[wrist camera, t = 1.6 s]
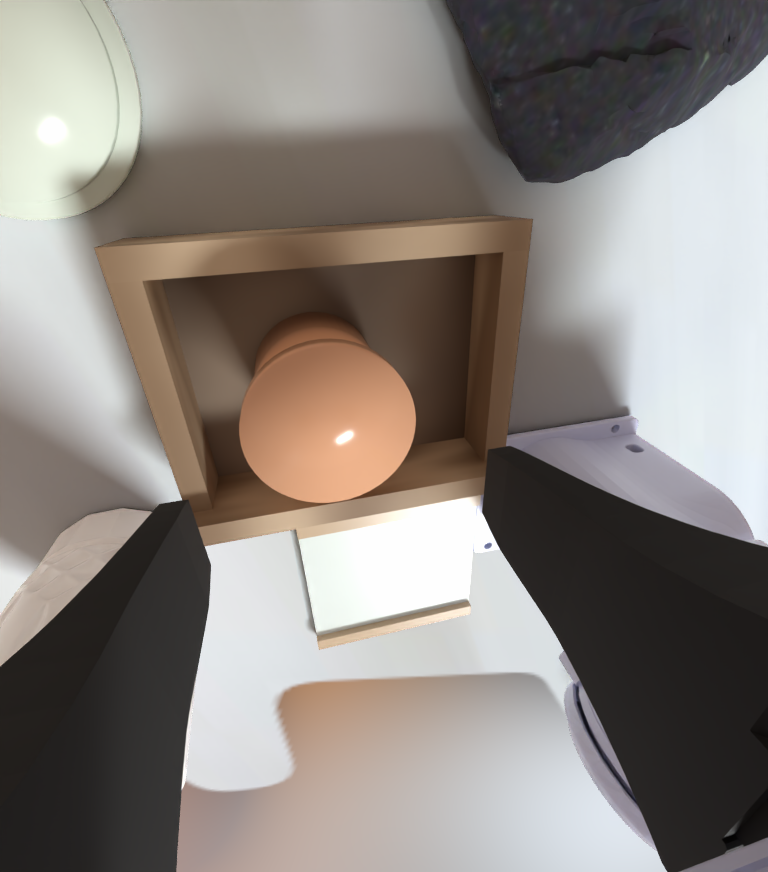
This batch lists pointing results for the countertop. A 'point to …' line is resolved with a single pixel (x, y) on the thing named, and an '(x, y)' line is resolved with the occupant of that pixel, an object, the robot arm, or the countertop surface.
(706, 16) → the dark slate chunk
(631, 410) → the countertop surface
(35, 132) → the saucer
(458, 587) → the frame lid
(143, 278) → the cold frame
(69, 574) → the white cup
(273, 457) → the tan bell-shaped knob
